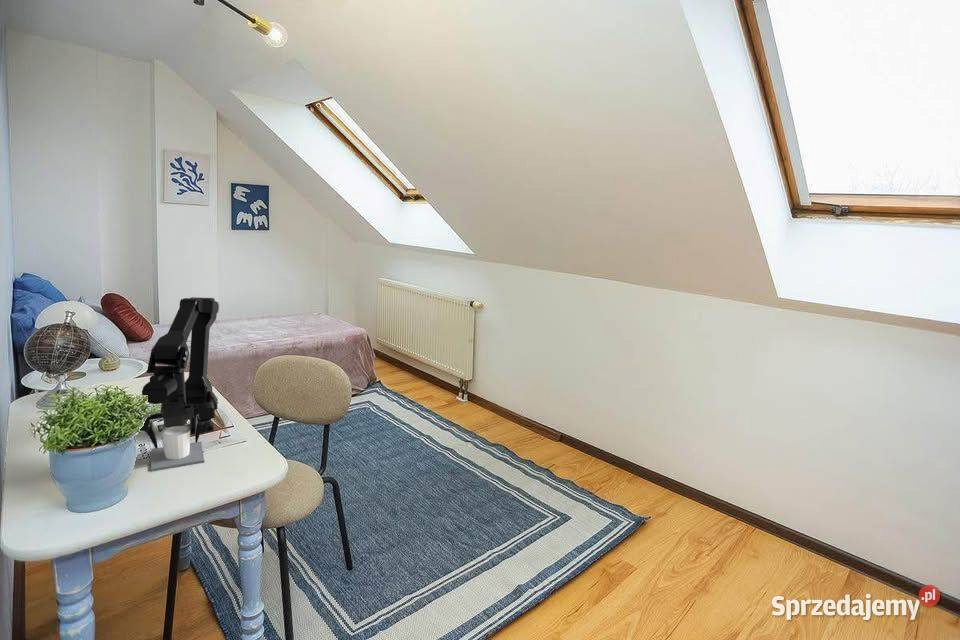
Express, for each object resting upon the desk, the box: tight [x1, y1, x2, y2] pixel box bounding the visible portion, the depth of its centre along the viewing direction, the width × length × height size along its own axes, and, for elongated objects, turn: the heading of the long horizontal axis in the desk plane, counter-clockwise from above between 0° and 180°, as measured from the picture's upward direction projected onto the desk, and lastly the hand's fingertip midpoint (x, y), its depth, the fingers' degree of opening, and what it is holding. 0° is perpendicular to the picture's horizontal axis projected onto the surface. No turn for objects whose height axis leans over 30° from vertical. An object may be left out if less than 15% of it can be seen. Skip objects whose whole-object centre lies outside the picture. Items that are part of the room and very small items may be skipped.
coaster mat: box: [150, 441, 205, 472], centre depth 144 cm, size 12×12×1 cm
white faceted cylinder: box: [160, 424, 191, 459], centre depth 143 cm, size 7×7×7 cm
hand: (176, 444), depth 144 cm, fingers open, 9 cm apart
